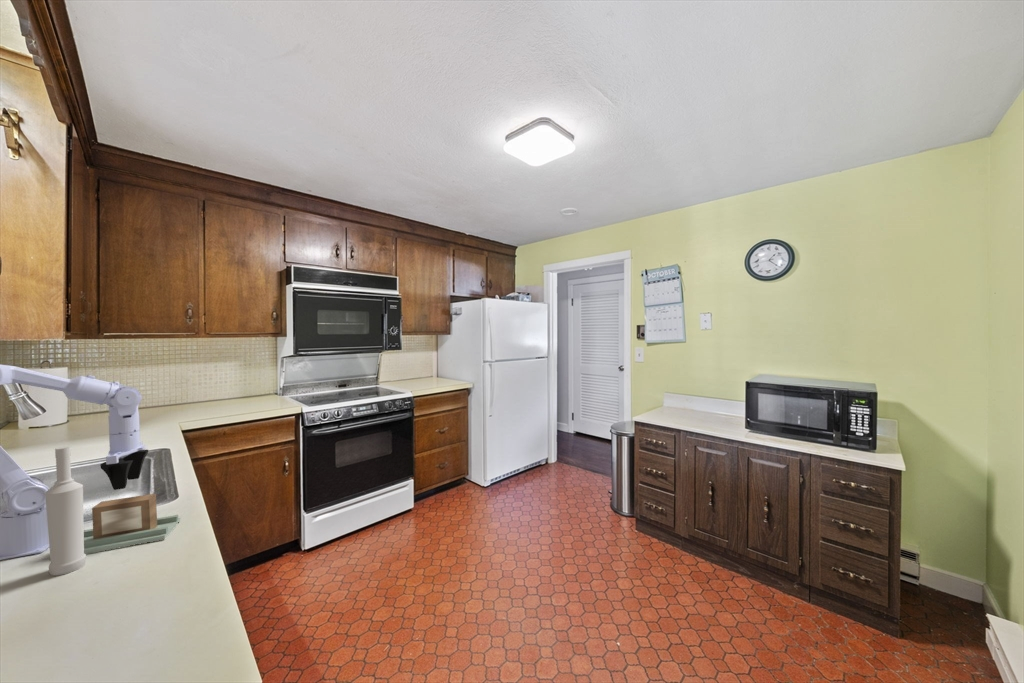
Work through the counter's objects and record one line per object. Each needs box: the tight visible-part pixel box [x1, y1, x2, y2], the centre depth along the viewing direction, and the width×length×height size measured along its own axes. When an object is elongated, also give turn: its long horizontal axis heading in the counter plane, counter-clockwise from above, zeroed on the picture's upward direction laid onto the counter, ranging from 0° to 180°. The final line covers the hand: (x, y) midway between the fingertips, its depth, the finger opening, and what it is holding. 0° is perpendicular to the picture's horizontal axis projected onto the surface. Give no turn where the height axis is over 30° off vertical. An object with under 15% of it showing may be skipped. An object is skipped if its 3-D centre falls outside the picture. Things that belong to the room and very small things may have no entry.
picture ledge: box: [84, 514, 181, 555], centre depth 94 cm, size 18×10×2 cm, turn 114°
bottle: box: [45, 445, 87, 577], centre depth 82 cm, size 5×5×25 cm
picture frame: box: [91, 493, 158, 539], centre depth 94 cm, size 10×4×8 cm, turn 114°
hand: (126, 483), depth 104 cm, fingers open, 7 cm apart
